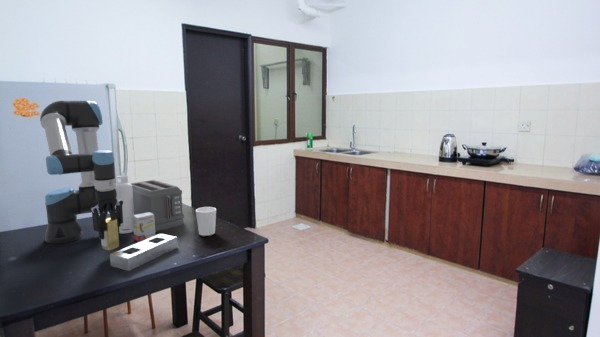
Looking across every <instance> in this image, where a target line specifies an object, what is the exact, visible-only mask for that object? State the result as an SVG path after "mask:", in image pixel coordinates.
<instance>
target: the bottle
mask: <svg viewBox="0 0 600 337" xmlns="http://www.w3.org/2000/svg"><path fill="white" fill-rule="evenodd" d="M116 177H117V178H116V181H117V182H116V187H115V189H116V193H117V197H116V199H117V200H121V201H123V205H122V212H123V223H122V224H120V225H121V226H120V227H119V233H118V234H131V233H134V229H133V216H134V203H133V190H132V185H131V184H130V182H129V176H128V175H125V174H124V175H122V174H121V175H117V176H116Z"/></svg>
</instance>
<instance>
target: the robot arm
mask: <svg viewBox="0 0 600 337" xmlns="http://www.w3.org/2000/svg"><path fill="white" fill-rule="evenodd" d="M39 118H40V119H39V120H40V125H41V127H42V128H43V129H44V131H45V135H46V136H45V137H46V141H47V146H48V151H49V155H48V156H46V157H45V164H46V165H45V166H46V171H47V173H48V174H49V175H51V176H52V175H53V176H55V175H59V176H61V175H67V174H77V173H80V176H81V179H80V180H81V182H80V184H79V185H78V189H77V190H75V189H74V188H73V187H63V188H58V189H54V190H51V191H49V192H47V194H46V195H45V197H44V199H45V202H44V205H45V207H46V208H45V209H46V219H47V220H46V221H47V227H46V231H45V234H44V240H45V243H47V244H63V243H68V242H73V241H77V240H79V239H81V238H82V237H83V234H84V233H83V229H82V227H81V225H80V223H79V221H78V217H77V215H85V214H89V213H91V218H92V225H93V227H92V228H93V231H94V232H98V238H99V239H100V240H101V247H102V246H105V247H107V246H108V242H107V231H105V223H106V219H107V216H108V212H109V215H110V218H113V219H117V226H118V234H120V233H119V227H120V226H121V225H120V224H122V223H123V212H122V205H123V201H121V200H117V199H116V197H117V193H116V189H115V187H116V184H117V182H116V181H117V179H116V173H115V172H116V170H115V169H116V168H115V157H114V153H113V151H111V150H107V149H102V150H101V149H100V150H99V143H98V136H97V135H98V134H97V132H98V131H99V129H100V126H101V125H103V116H102V112H101V109H100V106H99V104H98V103H97V102H96V101H92V100H57V101H54V102H51V103H50V104H48V105H47V106H46V107H45V108H44V109H43V111H42V112H41V113H40V117H39ZM67 126H69V127H71V130H72V131H73V132H75V134H76V135H75V136H76V142H77V151H78V153H73V152H72V149H71V146H70V145H71V144H70V142H69V137H68V133H67V130H66V129H67V128H66V127H67Z"/></svg>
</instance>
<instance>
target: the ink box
mask: <svg viewBox="0 0 600 337" xmlns="http://www.w3.org/2000/svg"><path fill="white" fill-rule="evenodd" d="M133 229H134V231H133V240H135V241H136V242H137V243H138V242H141V241H143V240H146V239H148V238H150V237H153V236H155V235H157V234H156V231H155V219H154V214H153V213H151V212H147V213H142V214H137V215H134V216H133Z"/></svg>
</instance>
